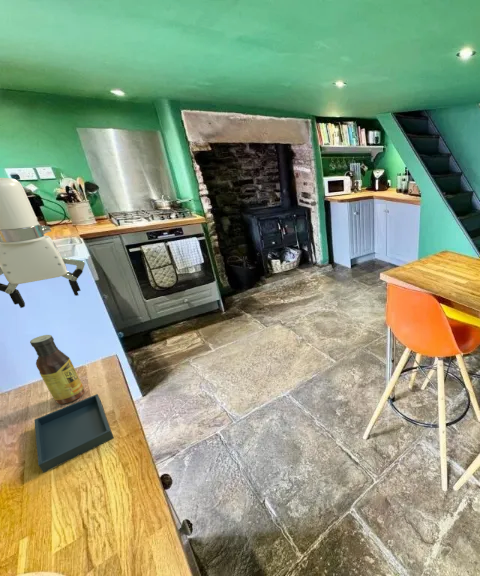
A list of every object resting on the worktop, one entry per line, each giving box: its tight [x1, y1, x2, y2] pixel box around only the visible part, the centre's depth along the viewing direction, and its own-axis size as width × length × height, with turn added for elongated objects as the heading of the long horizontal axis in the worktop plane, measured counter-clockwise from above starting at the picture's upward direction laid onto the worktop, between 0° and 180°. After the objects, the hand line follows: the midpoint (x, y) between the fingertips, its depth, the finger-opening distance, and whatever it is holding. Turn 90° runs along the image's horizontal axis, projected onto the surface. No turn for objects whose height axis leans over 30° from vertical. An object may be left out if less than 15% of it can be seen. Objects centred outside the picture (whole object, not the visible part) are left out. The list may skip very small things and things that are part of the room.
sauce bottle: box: [29, 334, 85, 405], centre depth 83 cm, size 7×6×20 cm
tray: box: [34, 393, 115, 473], centre depth 76 cm, size 18×12×2 cm
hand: (50, 299), depth 77 cm, fingers open, 9 cm apart
